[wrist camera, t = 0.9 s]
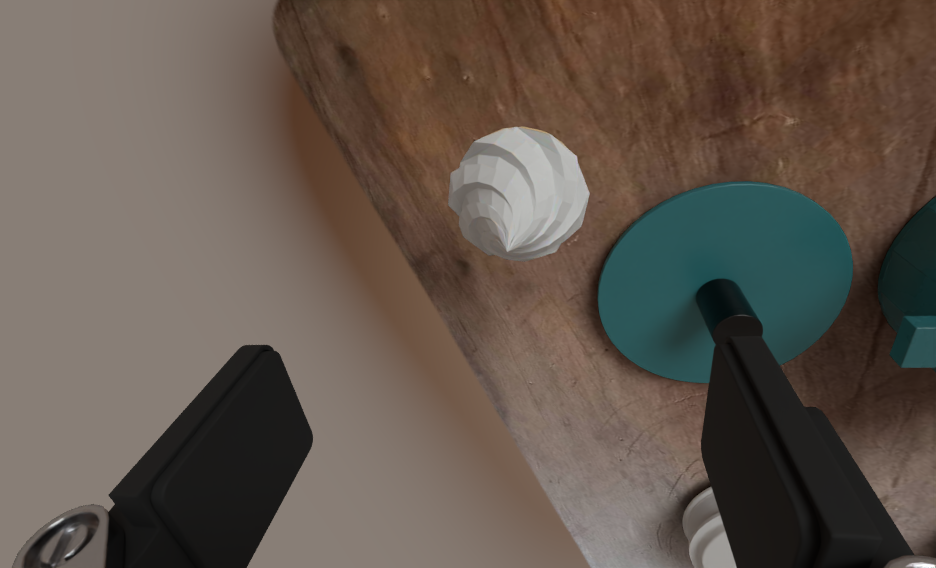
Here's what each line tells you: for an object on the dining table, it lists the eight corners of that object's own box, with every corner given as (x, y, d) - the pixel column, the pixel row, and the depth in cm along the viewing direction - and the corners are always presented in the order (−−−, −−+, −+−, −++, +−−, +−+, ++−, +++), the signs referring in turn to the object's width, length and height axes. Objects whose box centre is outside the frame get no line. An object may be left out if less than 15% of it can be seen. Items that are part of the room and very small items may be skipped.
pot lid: (595, 188, 29) (602, 223, 25) (873, 166, 26) (935, 201, 22) (597, 373, 37) (602, 425, 32) (815, 372, 34) (853, 428, 29)
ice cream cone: (494, 188, 30) (450, 333, 18) (469, 96, 28) (397, 188, 15) (585, 167, 29) (609, 310, 16) (568, 68, 26) (580, 145, 13)
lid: (856, 544, 42) (889, 606, 38) (703, 563, 47) (717, 620, 42) (829, 448, 37) (864, 508, 33) (660, 480, 42) (672, 536, 37)
